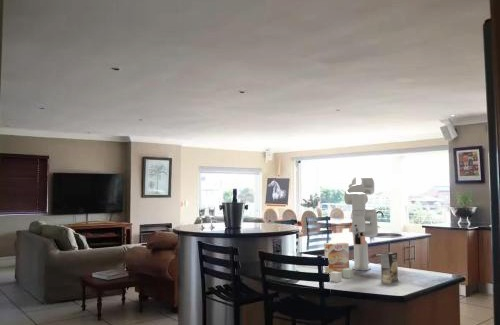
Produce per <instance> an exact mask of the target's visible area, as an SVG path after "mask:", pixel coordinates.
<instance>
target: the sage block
mask: <svg viewBox="0 0 500 325" xmlns="http://www.w3.org/2000/svg"><path fill="white" fill-rule="evenodd" d="M341 274H342V278H349V279H351V278H354V269H352V268H350V267H349V268H344V269H342V273H341Z"/></svg>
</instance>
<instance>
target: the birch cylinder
mask: <svg viewBox="0 0 500 325" xmlns="http://www.w3.org/2000/svg"><path fill="white" fill-rule="evenodd" d="M381 281H382V284H385V285H391V283H392V282H393V281H391V274H382V276H381Z"/></svg>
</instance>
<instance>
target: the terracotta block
mask: <svg viewBox="0 0 500 325" xmlns="http://www.w3.org/2000/svg"><path fill="white" fill-rule="evenodd" d="M365 240H366V237H365V236H360V241H361V244H355V236H354V241H353V246H354V245H365Z"/></svg>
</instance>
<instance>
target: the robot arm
mask: <svg viewBox="0 0 500 325" xmlns="http://www.w3.org/2000/svg"><path fill="white" fill-rule="evenodd" d="M373 194H375V180H374V179H373V177H371V176H357V177H354V178H352V180H351V183H350V184H349V185H348V187H347V188H346V189H345V191H344V196H343V197H344V199H343V200H344V203H345V204H346V205H348V206H349V205H351V210H352V211H351V214H352V215H351V216H352V219H351V233H352V239H353V242H354V236H355V244H361V241H360V236H365V238H376V237H377V236H378V234H379V233H378V232H379V230H378V229H379V228H378V226H379V225H378V213H377V210H376V209H375V208H374V207H366V205H367V203H368V200H369V198H368V197H369V196H370V195H373ZM368 245H369V244H368V242H367V240H366V239H365V245H354V244H353V261H354V264H353V265H354V266H352V267H351V269H353V270H357V271H370V270H371V269H372V268H371V266H369V265H370V262H369V246H368Z"/></svg>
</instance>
